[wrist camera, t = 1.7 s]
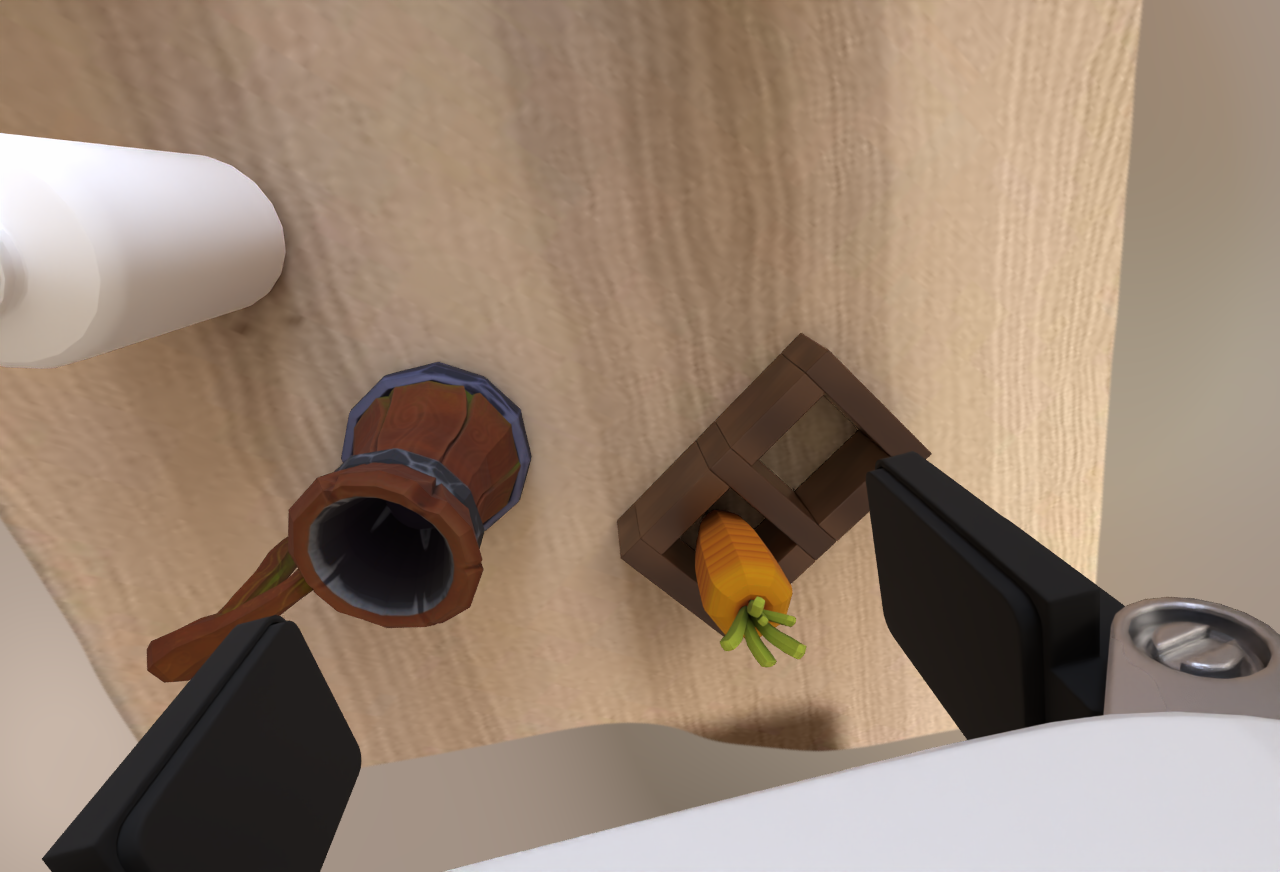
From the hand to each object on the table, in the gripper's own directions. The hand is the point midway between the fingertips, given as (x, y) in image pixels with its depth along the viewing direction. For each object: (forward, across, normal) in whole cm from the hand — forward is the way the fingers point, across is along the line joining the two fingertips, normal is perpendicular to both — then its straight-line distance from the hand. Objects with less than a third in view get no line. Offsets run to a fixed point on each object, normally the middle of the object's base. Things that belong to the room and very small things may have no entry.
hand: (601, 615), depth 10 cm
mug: (+32, +14, +7) cm, 35 cm away
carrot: (+32, -5, +16) cm, 36 cm away
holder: (+32, -8, +13) cm, 35 cm away
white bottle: (+32, +19, -9) cm, 38 cm away
